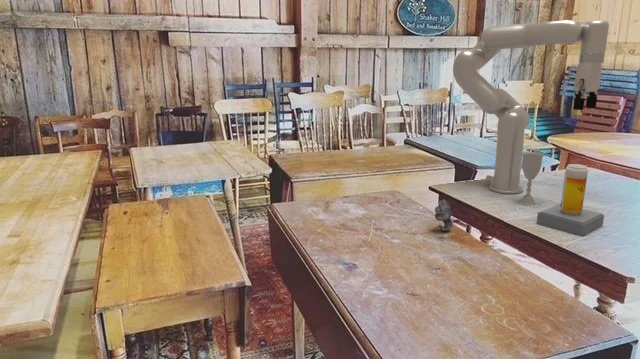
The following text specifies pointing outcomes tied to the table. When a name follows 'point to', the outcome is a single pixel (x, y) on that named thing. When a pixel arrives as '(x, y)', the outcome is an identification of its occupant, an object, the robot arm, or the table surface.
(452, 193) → the table surface
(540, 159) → the chalice
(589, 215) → the plinth
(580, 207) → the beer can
